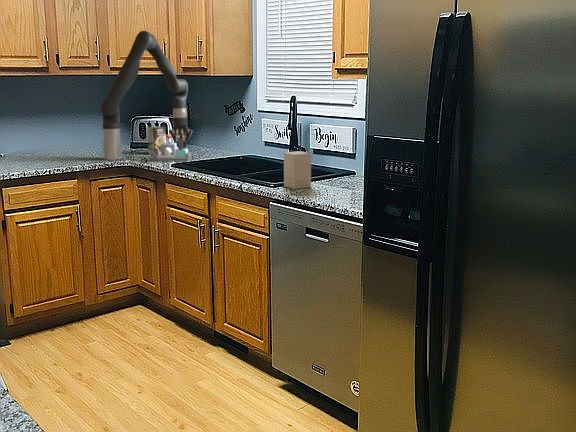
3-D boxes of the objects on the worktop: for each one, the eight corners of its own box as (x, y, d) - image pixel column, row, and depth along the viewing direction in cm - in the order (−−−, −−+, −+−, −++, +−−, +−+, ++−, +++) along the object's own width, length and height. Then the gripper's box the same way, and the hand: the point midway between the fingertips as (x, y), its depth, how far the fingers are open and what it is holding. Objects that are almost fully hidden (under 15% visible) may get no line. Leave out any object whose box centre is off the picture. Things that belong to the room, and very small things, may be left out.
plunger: (165, 144, 362) (165, 134, 361) (167, 144, 366) (167, 134, 364) (171, 144, 362) (170, 134, 361) (173, 144, 365) (172, 134, 364)
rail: (153, 160, 353) (153, 152, 352) (157, 159, 358) (156, 151, 357) (188, 161, 350) (187, 153, 349) (191, 159, 356) (191, 151, 355)
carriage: (175, 157, 351) (174, 139, 349) (178, 156, 356) (177, 138, 353) (185, 158, 350) (185, 139, 348) (188, 156, 355) (187, 138, 353)
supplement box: (311, 187, 275) (312, 153, 272) (294, 189, 271) (294, 154, 267) (300, 184, 283) (300, 150, 279) (283, 186, 279) (283, 152, 275)
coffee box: (155, 155, 374) (154, 127, 370) (148, 154, 378) (146, 127, 374) (167, 153, 381) (165, 126, 378) (159, 152, 385) (158, 126, 381)
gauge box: (161, 158, 362) (160, 144, 360) (165, 156, 369) (164, 142, 368) (174, 158, 361) (174, 144, 359) (178, 156, 368) (178, 142, 366)
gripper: (194, 116, 350) (195, 147, 354) (170, 115, 352) (171, 146, 356) (190, 117, 343) (191, 149, 347) (165, 116, 345) (167, 148, 349)
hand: (181, 147), depth 352 cm, fingers closed on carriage, 2 cm apart
